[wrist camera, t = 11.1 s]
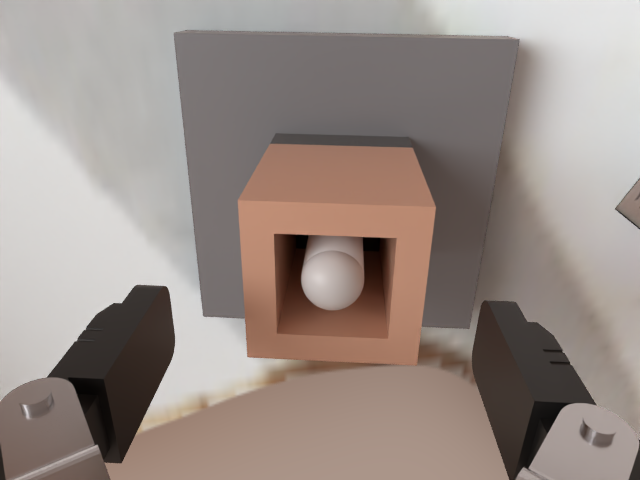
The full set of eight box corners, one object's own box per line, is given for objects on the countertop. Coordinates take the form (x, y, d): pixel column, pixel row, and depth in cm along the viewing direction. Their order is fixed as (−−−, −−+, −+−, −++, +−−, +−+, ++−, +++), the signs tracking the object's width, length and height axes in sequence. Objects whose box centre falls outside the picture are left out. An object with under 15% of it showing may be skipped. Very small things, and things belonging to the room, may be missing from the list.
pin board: (211, 298, 24) (143, 444, 16) (186, 30, 19) (68, 53, 11) (462, 310, 24) (517, 466, 16) (507, 36, 19) (622, 65, 11)
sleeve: (278, 250, 21) (247, 357, 15) (275, 133, 19) (237, 200, 13) (397, 255, 21) (416, 365, 15) (408, 136, 19) (436, 207, 13)
